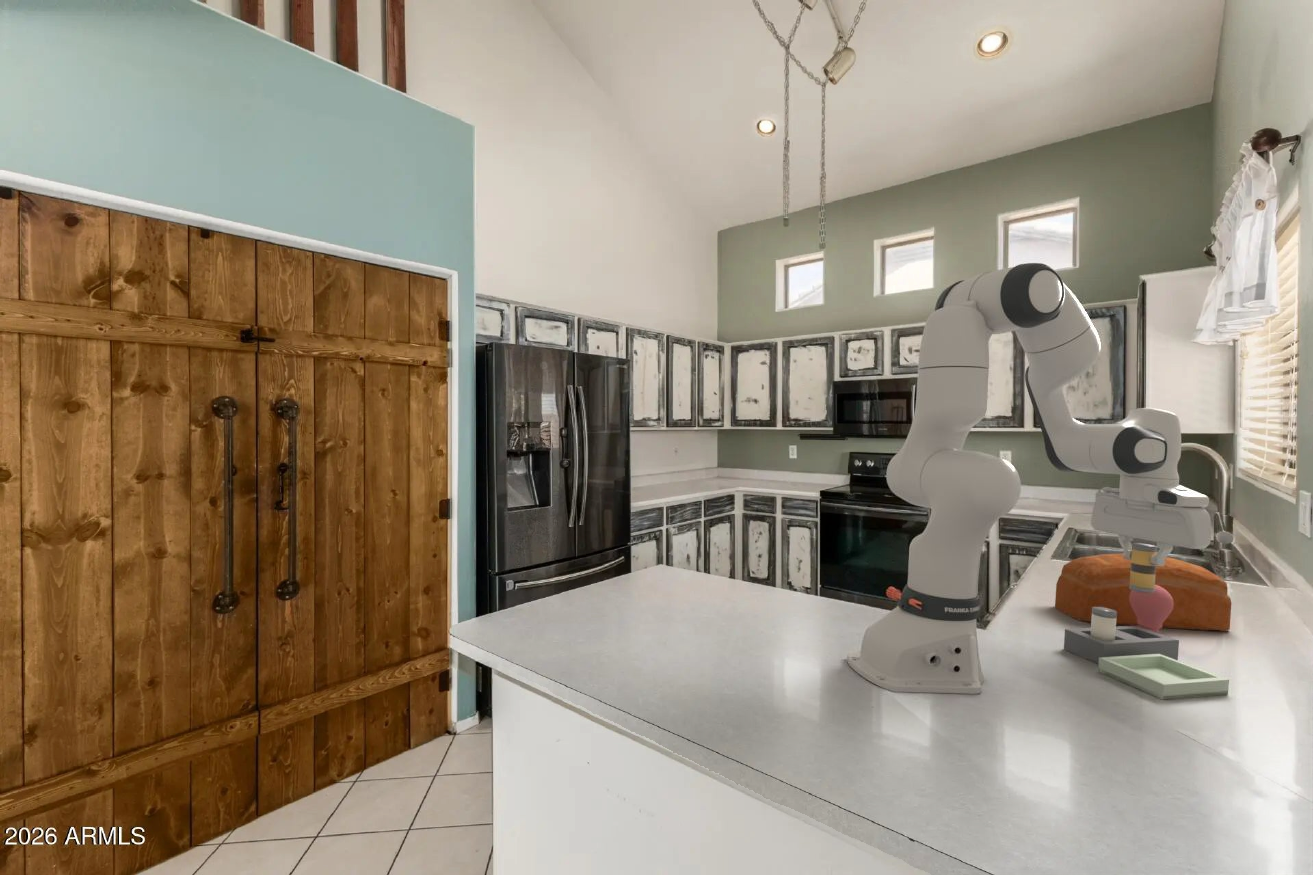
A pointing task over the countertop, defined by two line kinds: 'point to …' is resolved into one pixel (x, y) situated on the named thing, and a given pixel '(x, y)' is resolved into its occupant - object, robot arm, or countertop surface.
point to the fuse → (1103, 623)
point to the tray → (1163, 676)
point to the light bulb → (1151, 607)
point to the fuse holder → (1120, 643)
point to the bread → (1108, 587)
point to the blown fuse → (1142, 568)
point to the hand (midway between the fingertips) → (1143, 562)
